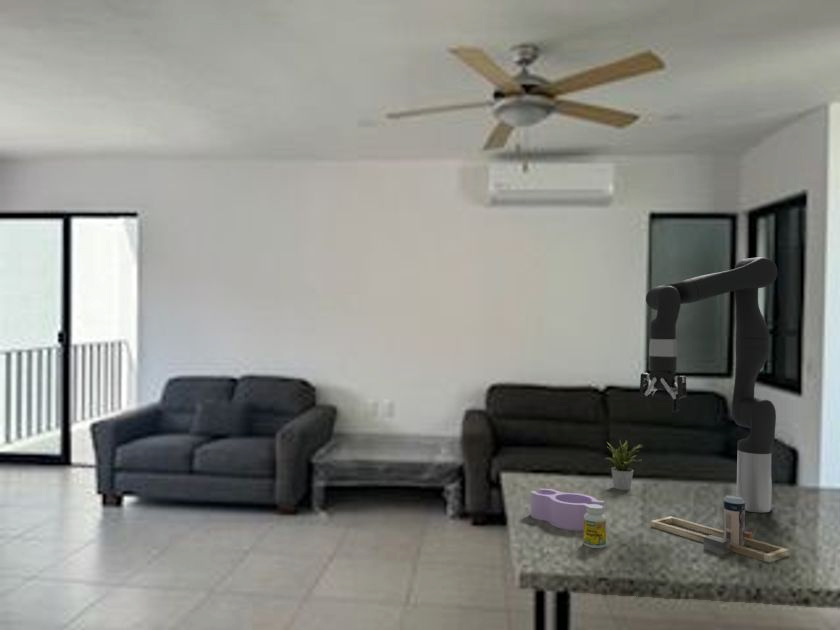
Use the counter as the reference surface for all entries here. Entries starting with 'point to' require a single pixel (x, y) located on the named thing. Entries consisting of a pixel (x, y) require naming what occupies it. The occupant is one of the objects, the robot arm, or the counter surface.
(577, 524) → the clip
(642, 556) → the counter surface
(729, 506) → the beer can
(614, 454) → the house plant
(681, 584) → the counter surface
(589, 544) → the supplement bottle
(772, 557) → the beam track
